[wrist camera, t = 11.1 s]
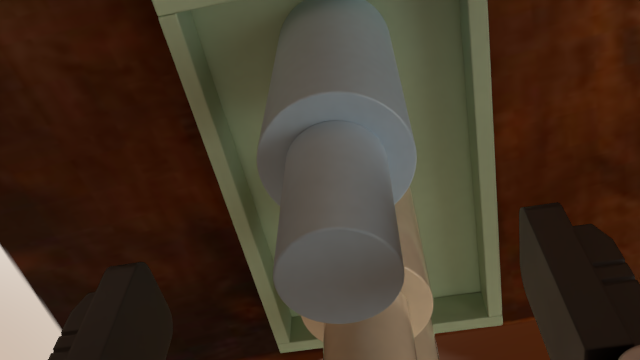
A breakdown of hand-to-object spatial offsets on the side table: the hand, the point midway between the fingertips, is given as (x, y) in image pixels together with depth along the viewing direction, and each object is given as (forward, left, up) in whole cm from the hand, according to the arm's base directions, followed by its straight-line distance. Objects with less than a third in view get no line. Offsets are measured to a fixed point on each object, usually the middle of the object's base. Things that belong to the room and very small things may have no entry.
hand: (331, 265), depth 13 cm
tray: (+6, 0, -13) cm, 15 cm away
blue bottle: (0, 0, -13) cm, 13 cm away
